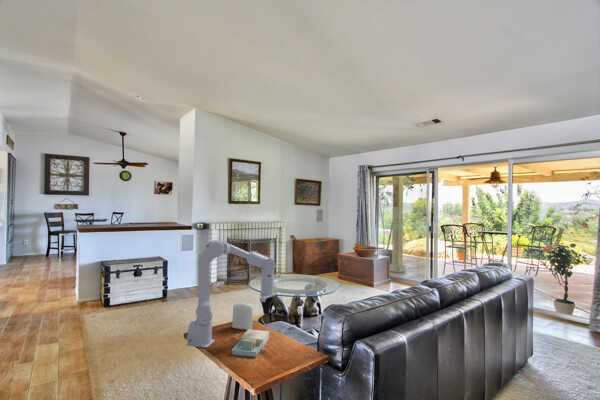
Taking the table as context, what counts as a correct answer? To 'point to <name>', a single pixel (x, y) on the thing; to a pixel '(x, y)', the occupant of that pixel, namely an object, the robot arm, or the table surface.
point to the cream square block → (256, 336)
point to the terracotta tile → (254, 343)
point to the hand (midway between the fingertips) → (266, 313)
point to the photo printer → (242, 316)
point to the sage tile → (247, 344)
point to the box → (239, 352)
